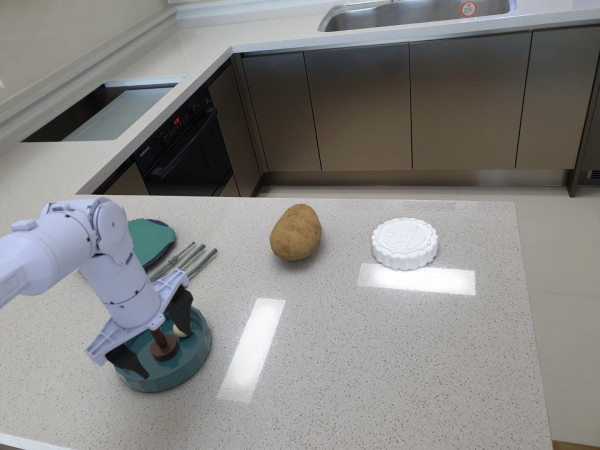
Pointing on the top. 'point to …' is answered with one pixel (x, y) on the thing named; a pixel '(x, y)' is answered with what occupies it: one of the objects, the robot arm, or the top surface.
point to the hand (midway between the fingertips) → (165, 352)
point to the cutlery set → (159, 244)
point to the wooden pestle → (163, 345)
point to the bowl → (175, 368)
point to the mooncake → (404, 243)
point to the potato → (296, 233)
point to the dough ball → (179, 332)
